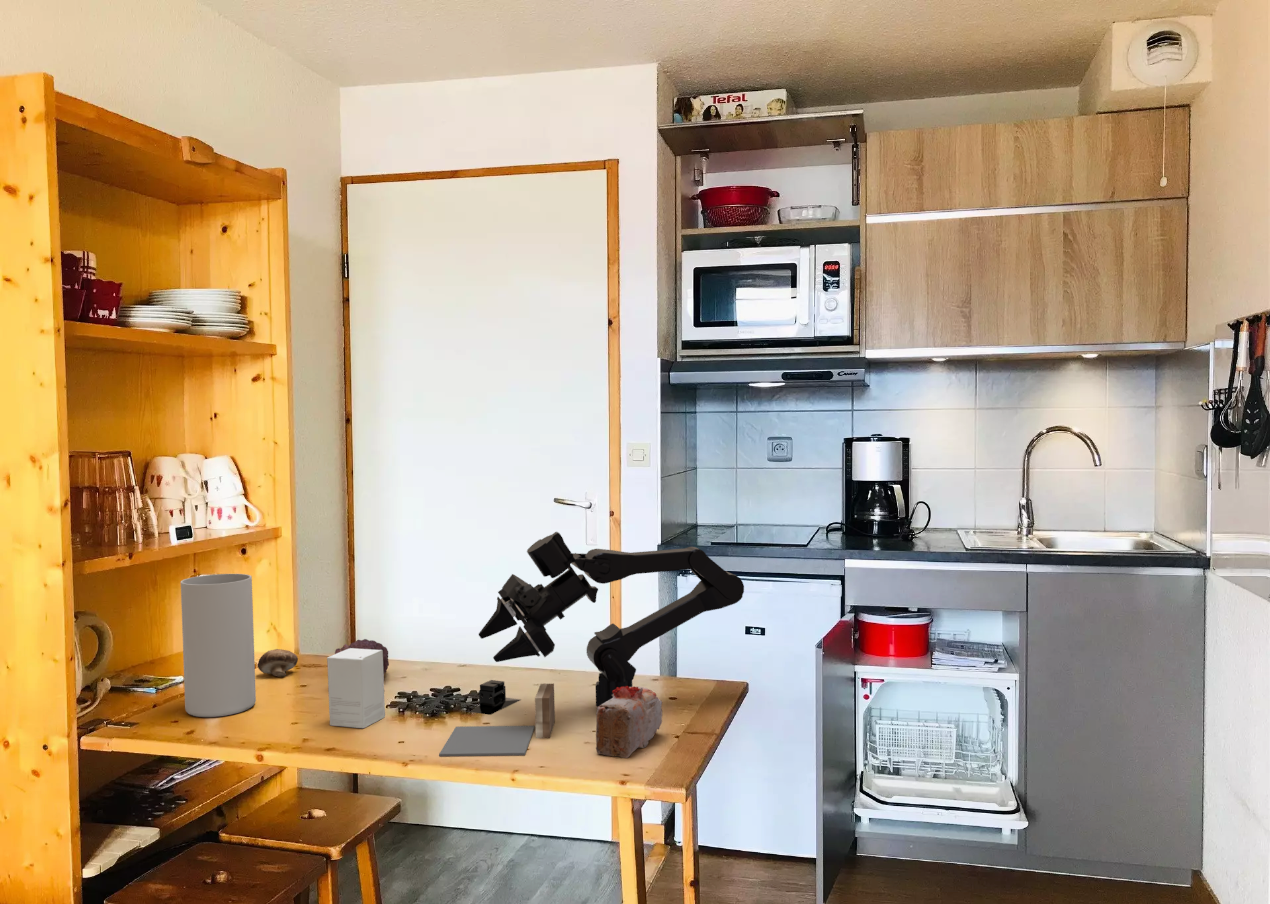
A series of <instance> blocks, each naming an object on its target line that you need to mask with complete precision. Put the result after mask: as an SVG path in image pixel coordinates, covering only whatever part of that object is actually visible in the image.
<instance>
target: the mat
mask: <svg viewBox="0 0 1270 904" xmlns="http://www.w3.org/2000/svg"><path fill="white" fill-rule="evenodd" d="M535 730H536V725H486V726H485V725H480V726H479V725H472V726H471V725H469V726H466V725H465V726H464V725H463V726H455V728H454V729H453V731H452V732H451V734H450V736H449V737H448V738H447V740H446V741H445V744H444V745H443V747H442V749H441V750H440V752H439V754H438V756H439V757H491V756H494V757H495V756H496V757H497V756H499V757H500V756H505V757H506V756H508V757H509V756H525V755H526V753H527V751H528V748H529V746H530V745H529V744H530V742H531V739H532V738H533V737H532V736H533V734H534V731H535Z"/></svg>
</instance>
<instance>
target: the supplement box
mask: <svg viewBox="0 0 1270 904" xmlns="http://www.w3.org/2000/svg"><path fill="white" fill-rule="evenodd" d="M326 661H327V662H326V663H327V681H328V682H327V685H328V709H329V711H328V712H329V714H328V715H329V726H334V727H343V728H344V727H345V728H353V729H354V728H355V729H365V728H367V727H369V726H371V725H373V724H374V723H377V722H378V721H380V720H383V719H384V718H385V717H386V708H385V705H386V704H385V702H386V701H385V676H384V675H385V673H384V674H383V650H371V649H356V648H349V649H347V650H344V651H342V652H339V653H337V654H335V653H334V654H332V655H330V656H328V657H326Z"/></svg>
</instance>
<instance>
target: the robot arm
mask: <svg viewBox="0 0 1270 904" xmlns="http://www.w3.org/2000/svg"><path fill="white" fill-rule="evenodd" d="M526 553H527V555H528V556H529V557H530V559H531V560H532V562H533V563H534V565H536V568H537V569H538V570H539V572H540V574H541V575H542V576H543V577H544V578H545V577H550V578H551V579H553V580H552V581H550V582H549V583H548V584H546V586H544V585H543V584H542V583H540V584H537V585H535V586H533V585H532V584H531V583H528V582H526V581H525V580H523V579H522V578H520V577H518V576H517V575H515V574H513V573H511V575H510V577H509V578H508V579H507V580H506V581H505V583H504V584H503V586H502V587H501V589H500V590H498V591H497V593H498V594H499V595H498V596H497V599H496V600H497V604H496V609H495V611H494V613H493V614H492V615H491V617H490V618H489V620H488V621H486V624H485V625H484V626H483V627H482V628H481V629H480V631H479V632H478V637H479V638H480V639H486V638H489V637H491V636H493V635H496V634H498V633H501V632H503V631H505V630H507V629H511V628H512V627H515V626H516V625H518V623H517V621H521V623H523V628H524V629H522V627H521V625H520V626H518V629H517V631H516V635H515V637H514V638H513V639H512V640H511V641H509V642H508V643H507V644H506V645H505V646H503V647H502V648H501V649H500V650H498V652H497V653H495V654H494V656H493V657H492V658H493V660H494V661H495V663H499V662H504V661H510V660H513V659H519V658H525V657H533V656H537V657H541V654H542V656H543V657H544V658H546V657H547V656H549V655H551V653H553V652H554V650H555V646H556V643H554V641H553V640H552V638H551V637H550V635H549V634H548V632H547V629H546V627H545V626H546V625H547V624H549V623H550V622H551V621H553V620H554V619H556V617H558V619H559V620H562V619H564V618H565V616H566V615H564V612H565V611H567V609H570V608H571V607H572V606H573V605H575V604H576V603H577V602H579V601H580V600H582V598H584V597H585V596H586V597H587V599H588V600H589V601H590V602H591V603H596V602H597V594H598V591H599V588H598V587H597V586H593V585H591V584H590V582H589V581H588V579H587V578H586V577H588V578H590V579H591V580H592V581H594V582H595V583H598V584H603V585H604V584H609V583H613V582H617V581H620V580H624V579H627V578H628V577H629V576H634V575H639V574H640V575H641V574H649V573H650V574H652V573H662V572H675V571H686V570H691V572H692V573H693V574H694V575H695V576H696V577H697V578H698V580H699V582H698V583H697V584H696V585H695V587H694V588H693V589H692V590H691V591H690V592H689V593H687V594H685V595H684V596H682V597H680V598H677V599H676V600H674V601H673V602H670V603H668V604H667V605H665V606H663V607H661V608H660V609H658V610H656V611H654V612H653V613H650V614H649V615H647V616H645V617H644V618H641V619H640V620H638V621H636V622H635V623H633V624H630V625H629V626H626V627H621V628H620V627H618V626H617V625H616V624H615V623H611V624H609V625H608V626H607V627H604V629H602V630H600V631H594V632H593V633H594V635H595V636H593V637H592V638H590V639H589V641H588V643H587V645H586V656H587V658H588V659H589V661H590V662H591V663H592V664H593V665H594V666H595V667H596V668H597V670H598V671H599V674H598V681H596V682H595V707H596V708H597V707H598V706H600V705H602V704H603V703H605V702H606V701H608V700H610V699H612V698H613V696H612V695H613V694H614V693H613V690H615V689H617V688H616V687H618V688H621V687H626V686H628V687H634V686H633V684H634V683H633V680H634V678H635V675H636V672H637V668H636V667H635V666H634V665H632V664H631V663H630V662H629V661H630V660H631V659H632V657H634V655H635V654H636V653H637V651H638V650H639V649H641V648H642V647H644V646H646V645H647V644H648V643H650V642H653V641H654V640H656V639H658V638H659V637H661V636H663V635H665V634H667V633H668V632H670V631H672V630H674V629H675V628H678V627H680V626H681V625H683V624H685V623H686V622H688V621H690V620H692V619H694V618H696V617H697V616H699V615H701V614H702V613H705V612H709V611H716V610H719V609H725V608H726V607H729V606H732V605H735V604H737V603H738V602H740V600H742V598H743V595H744V592H745V585H744V582H743V580H742V579H741V578H740V577H739V576H738V575H736V574H733V573H731V572H728V571H726V570H725V569H724V568H722V567H721V566H720V565H719V564H717V562H715V561H714V560H712V559H711V558H710V557H709V556H708V555H707V554H706V552H705V551H704V550H702V549H700V548H698V547H695V546H688V547H685V548H674V549H673V548H672V549H664V550H663V549H662V550H659V549H658V550H650V551H649V550H648V551H646V550H645V551H635V552H629V551H627V552H626V551H620V550H616V549H615V550H614V549H606V548H605V549H604V548H594V549H590V550H588V551H587V552H586V553H577V552H574V553H572V551H571V550H570V549H569V547H568V545H567V544H566V543H565V541H564V537H563V536H562V535H561V533H560V532H558V531H555V532H553V533H552V534H549V535H547V536H545V537H542V539H541V538H540V539H538V540H537V541H535V542H534V543H532V545H530V546H529V547H528V549H527V550H526ZM573 566H574V567H575V568H576V569H578V570H580V571H582V572H583V573H584V574H585V575H586V577H585V575H584V574H583V573H582V574H577V573H576V571H575V570H574V568H573ZM499 596H500V597H501V598H500V597H499ZM515 619H516V620H515ZM524 630H525V631H524ZM539 652H540V653H541V654H540V653H539Z"/></svg>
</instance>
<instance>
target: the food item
mask: <svg viewBox="0 0 1270 904" xmlns="http://www.w3.org/2000/svg"><path fill="white" fill-rule="evenodd" d="M616 688H617V689H615V690H613V693H614V694H613V695H612V696H613V698H612V699H610V700H608V701H606V702H605V703H603V704H602V705H600V706H598V707H596V713H595V715H596V728H595V729H596V731H595V742H596V743H595V744H596V746H595V749H596V753H597V754H598V755H602V756H609V757H620V758H623V759H627V758H629V757H630V756H631V755H632V754H633V752H635V751H636V750H637V749H645V748H647V747H648V745H649V741H650V740H652V739H653V738H654V735H656V733H657V731H658V730H660V728H661V725H662V722H663V708H662V705H663V701H662V700H660V698H659V697H658V696H657V694H656V692H655V691H653V690H651V689H649V688H647V687H643V686H633V687H628V686H626V687H621V688H618V687H616Z"/></svg>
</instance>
